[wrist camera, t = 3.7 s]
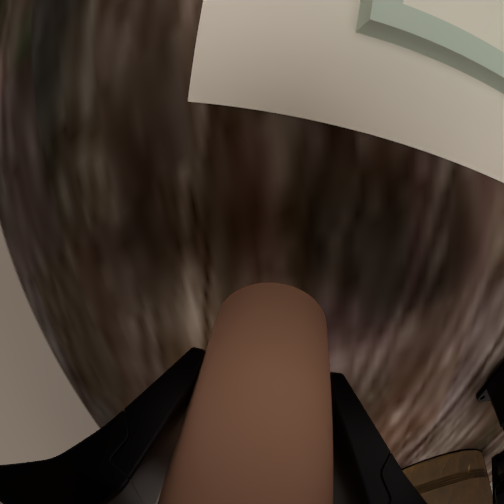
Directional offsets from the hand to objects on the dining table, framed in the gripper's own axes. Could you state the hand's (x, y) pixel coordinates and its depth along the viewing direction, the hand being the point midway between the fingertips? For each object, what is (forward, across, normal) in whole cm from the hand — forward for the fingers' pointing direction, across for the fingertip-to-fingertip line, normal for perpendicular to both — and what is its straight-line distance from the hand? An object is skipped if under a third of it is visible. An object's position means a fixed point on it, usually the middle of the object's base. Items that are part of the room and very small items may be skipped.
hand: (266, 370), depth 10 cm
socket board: (+7, -5, -15) cm, 17 cm away
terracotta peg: (+2, 0, 0) cm, 2 cm away
